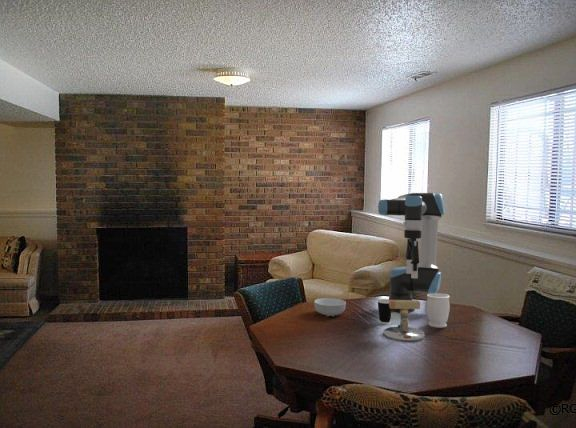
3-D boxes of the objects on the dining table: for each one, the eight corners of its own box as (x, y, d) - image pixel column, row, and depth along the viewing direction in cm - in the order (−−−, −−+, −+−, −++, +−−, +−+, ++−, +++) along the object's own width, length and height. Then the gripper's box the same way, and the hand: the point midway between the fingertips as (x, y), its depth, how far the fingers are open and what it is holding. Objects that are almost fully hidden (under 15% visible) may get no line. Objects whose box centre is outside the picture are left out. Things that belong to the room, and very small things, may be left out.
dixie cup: (396, 323, 239) (396, 301, 238) (383, 325, 235) (383, 303, 234) (386, 319, 246) (386, 298, 245) (373, 321, 242) (373, 299, 241)
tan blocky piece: (388, 325, 224) (388, 298, 223) (417, 326, 223) (417, 299, 222) (390, 330, 217) (390, 302, 216) (420, 330, 216) (420, 302, 215)
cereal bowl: (347, 319, 247) (347, 305, 246) (314, 319, 247) (314, 305, 246) (343, 310, 263) (344, 297, 263) (313, 310, 264) (313, 297, 263)
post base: (381, 329, 230) (381, 311, 229) (420, 330, 228) (420, 312, 228) (386, 341, 212) (386, 322, 211) (428, 342, 210) (428, 323, 210)
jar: (446, 322, 240) (447, 293, 239) (451, 329, 230) (452, 297, 229) (424, 322, 241) (425, 292, 240) (428, 328, 231) (429, 297, 230)
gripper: (400, 227, 234) (399, 271, 234) (409, 231, 209) (407, 280, 209) (416, 228, 233) (415, 271, 234) (426, 231, 208) (425, 280, 209)
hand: (411, 275), depth 222 cm, fingers open, 13 cm apart
